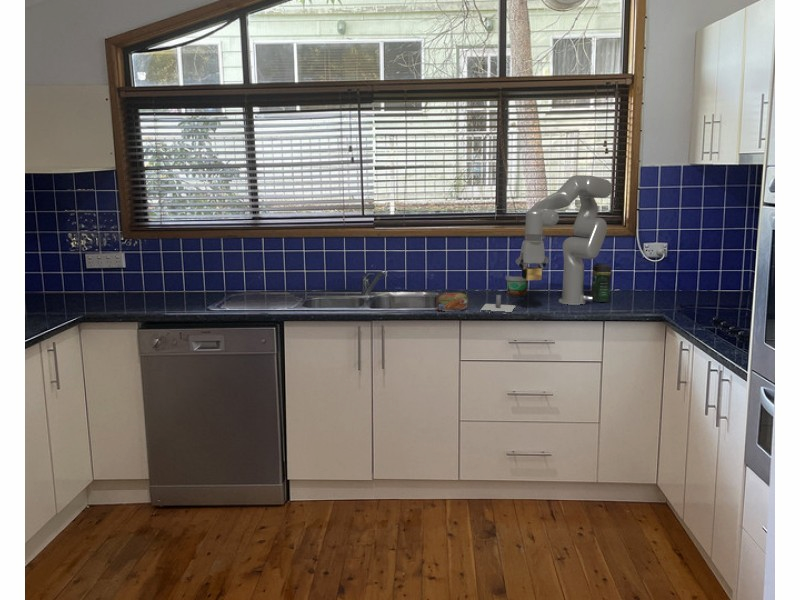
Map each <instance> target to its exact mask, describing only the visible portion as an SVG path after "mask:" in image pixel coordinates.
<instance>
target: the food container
mask: <svg viewBox="0 0 800 600" xmlns="http://www.w3.org/2000/svg"><path fill="white" fill-rule="evenodd" d="M504 280H506V288H507V289H506V290H507V295H508V296H512V297H524V296H527V293H528V284H529V280H525V279H523V278H522V276H519V275H515V276H511V275H506V276H505V279H504Z"/></svg>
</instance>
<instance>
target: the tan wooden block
mask: <svg viewBox="0 0 800 600" xmlns="http://www.w3.org/2000/svg"><path fill="white" fill-rule="evenodd" d="M526 270H527V272H526V279H525V280H528V281H542V277H543V269H541V268H539V267H538V266H527V267H526ZM523 279H524V278H523Z"/></svg>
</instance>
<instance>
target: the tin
mask: <svg viewBox="0 0 800 600" xmlns="http://www.w3.org/2000/svg"><path fill="white" fill-rule="evenodd" d="M469 302H470V301H469V297H468V296H467V294H465V293H464V292H460V291H459V292H443V293H441V294H439V295H437V298H436V301H435V304H436V307H437V309H438V310H440V311H441V310H452V309H464V310H465V309H467V307H468V305H469Z"/></svg>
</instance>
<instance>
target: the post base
mask: <svg viewBox="0 0 800 600" xmlns="http://www.w3.org/2000/svg"><path fill="white" fill-rule="evenodd" d="M495 298H496V299H495V303H485V304H484V305H483V306H482V307H481V309H480V311H481V310H491V311H505V312H512V311H513V309H514V308H515V309H516V305H513V304H502V294H496V295H495ZM515 309H514V310H515ZM513 312H514V311H513ZM513 312H512V313H513Z"/></svg>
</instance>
